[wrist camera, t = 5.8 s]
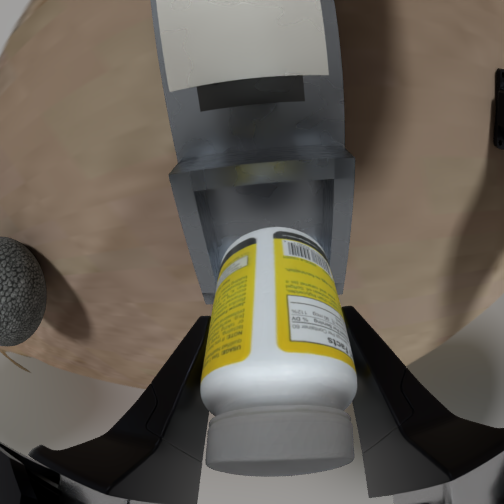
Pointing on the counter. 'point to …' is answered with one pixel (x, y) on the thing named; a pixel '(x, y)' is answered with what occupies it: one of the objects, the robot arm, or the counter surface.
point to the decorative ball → (19, 293)
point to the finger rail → (256, 125)
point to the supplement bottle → (277, 360)
